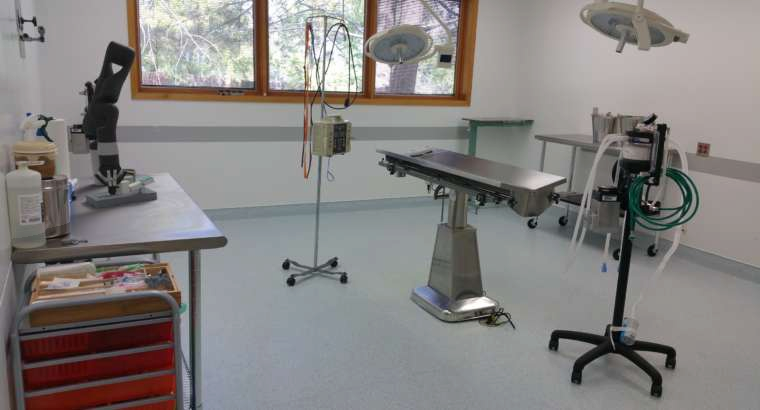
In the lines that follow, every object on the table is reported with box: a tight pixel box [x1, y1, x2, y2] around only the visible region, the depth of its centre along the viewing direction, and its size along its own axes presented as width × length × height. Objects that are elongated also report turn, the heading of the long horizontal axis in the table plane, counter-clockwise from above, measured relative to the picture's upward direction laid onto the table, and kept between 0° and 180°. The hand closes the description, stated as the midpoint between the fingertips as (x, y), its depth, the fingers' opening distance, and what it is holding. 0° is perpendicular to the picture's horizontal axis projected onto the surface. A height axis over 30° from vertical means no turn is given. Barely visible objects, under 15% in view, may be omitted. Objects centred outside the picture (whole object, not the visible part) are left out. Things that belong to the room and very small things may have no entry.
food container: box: [116, 168, 138, 189], centre depth 248 cm, size 12×6×10 cm, turn 84°
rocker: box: [129, 175, 156, 191], centre depth 231 cm, size 5×10×2 cm, turn 133°
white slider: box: [119, 180, 130, 195], centre depth 227 cm, size 3×3×6 cm
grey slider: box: [124, 176, 134, 184], centre depth 237 cm, size 3×3×6 cm
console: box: [85, 186, 158, 209], centre depth 231 cm, size 15×24×6 cm, turn 133°
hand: (112, 194), depth 224 cm, fingers closed
